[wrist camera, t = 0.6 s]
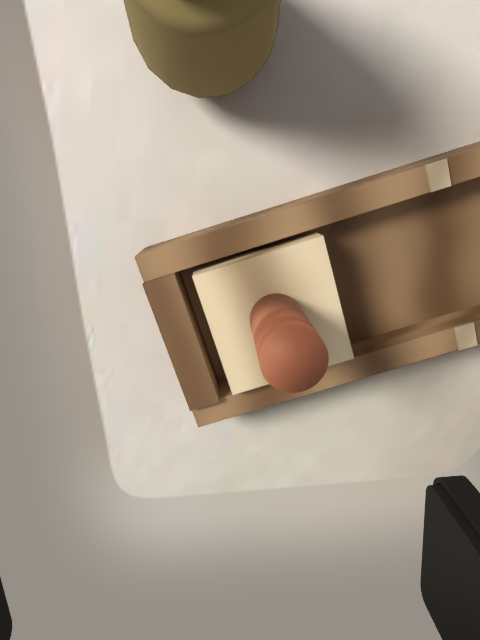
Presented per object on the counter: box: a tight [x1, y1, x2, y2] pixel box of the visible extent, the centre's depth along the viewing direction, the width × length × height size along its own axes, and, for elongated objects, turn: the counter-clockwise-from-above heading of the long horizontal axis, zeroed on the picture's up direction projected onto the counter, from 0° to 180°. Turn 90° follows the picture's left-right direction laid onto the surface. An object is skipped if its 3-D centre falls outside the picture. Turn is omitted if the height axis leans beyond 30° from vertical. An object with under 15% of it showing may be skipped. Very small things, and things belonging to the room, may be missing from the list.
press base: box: [135, 142, 480, 427], centre depth 30 cm, size 26×12×6 cm, turn 107°
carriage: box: [192, 230, 354, 395], centre depth 26 cm, size 8×8×10 cm
